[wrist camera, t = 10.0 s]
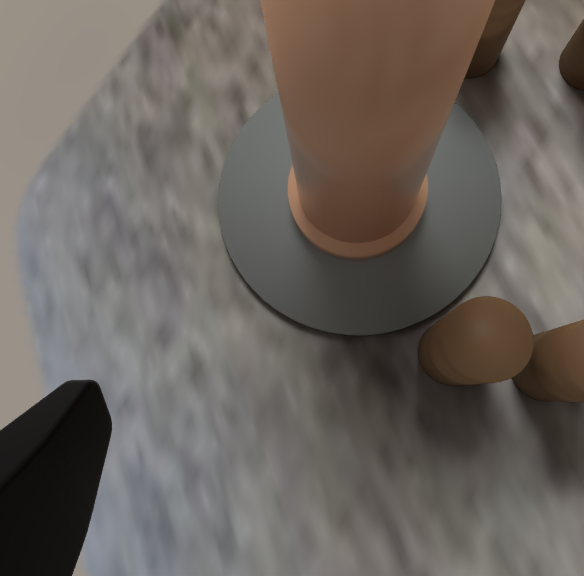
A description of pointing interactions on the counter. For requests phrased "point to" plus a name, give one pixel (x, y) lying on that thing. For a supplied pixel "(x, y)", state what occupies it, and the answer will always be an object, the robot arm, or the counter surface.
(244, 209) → the slate coaster
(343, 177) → the terracotta vase
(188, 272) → the counter surface
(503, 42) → the peg
